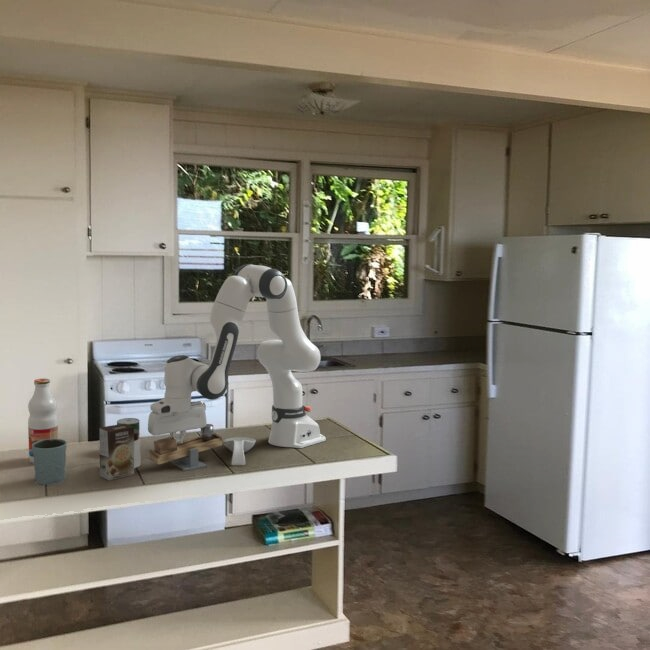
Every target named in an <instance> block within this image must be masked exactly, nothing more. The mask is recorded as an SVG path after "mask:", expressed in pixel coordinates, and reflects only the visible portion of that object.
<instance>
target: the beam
mask: <svg viewBox="0 0 650 650" xmlns="http://www.w3.org/2000/svg"><path fill="white" fill-rule="evenodd" d="M222 439H223V437H222V435H220V434H218V433H216V432H214V439H213V440H210V441H207V442H203V441H202V438H201V436H197V437H194V438H191V439H188V440H183V443H182V444H177V450H176V451H173V452H170V453H166V454H163V455H159V454H158V453H156V452H155V449H154V450H152V449H151V448H150V449H148V455H149V456H148V457H149V460H151V461H152V462H153V463H155V464H157V465H162V464H165V463H168V462H170V461H171V460H175V459H178V458H181V457H185V456H188V455H189V450H190V449H195V448H197V449H198V453H201V452H204V451H208V450H210V449H214V448H217V447H221V446H223V440H222Z"/></svg>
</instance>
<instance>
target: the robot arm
mask: <svg viewBox="0 0 650 650" xmlns="http://www.w3.org/2000/svg"><path fill="white" fill-rule="evenodd" d="M253 297H256V298H264V299H265V300H266V309H267V315H268V316H267V317H268V323H269V328H270V331H271V332H272V333H273V334H275V335H276V336H277V337H278V338H279V339H276V338H275V339H268V340H267V339H266V340H264V341H262V342H261V343H260V344H259V346H258V349H257V359H258V362H259V363H260V364H261V365H262V366H263V367H264V369H265V370H266V372H267V373H268V374H269V375H268V376H269V378H270V381H271V385H272V398H273V399H272V400H273V401H272V406H271V421H272V422H271V428H270V434H269V437H268V440H267V442H268V443H269V444H270V445H272V446H275V447H282V448H295V449H303V448H306V447H308V446H309V447H310V446H311V445H312V446H313V445H316V444H319V443H323V442H326V436H325V435H323V434H321V431H320V430H321V429H320V425H319V423H317V422H316V421H315V420H313V418H311V417H310V416H309V415H308V414H307V413H311V411H312V407H311V406H308V405H306V406H305V405H303V386H302V384H301V382H300V381H299V380H298V379H296V377H295V376H294V375H293V373H292V371H293V372H299V373H305V372H308V373H309V372H314V371H316V369H317V368H318V367H319V366H320V363H321V359H322V358H321V357H322V356H321V351H320V350H319V348H318V346H316V345H315V344H314V343H313V342H312V341H310V339H309V338H308V337H307V335H306V334H305V332H304V330H303V327H302V324H301V322H300V321H301V320H300V317H299V309H298V303H297V297H296V293H295V289H294V286H293V283H292V281H291V280H290V279H289V278H287V277H286V276H285V274H284V273H282V272H281V271H280V270H278V269H277V268H271V267H269V266H267V265H266V266H265V265H259V264H257V265H256V264H252V263H248V264H247V263H246V264H242V265H241V266H239V267H238V268H237V269H236V271H234V274H233V275H230V276H228V277H227V278H226V279H225V280H224V282H223V284H221V286H220V289H219V291H218V292H217V294H216V298H214V302H213V305H212V307H211V312H210V316H209V321H210V324H211V326H212V329H214V332H215V335H216V343H215V346H214V347H215V348H214V351H213V354H212V357H211V361H210V364H207V363H204V362H203V363H202V362H200V361H196V360H194V359H193V358H190V357H189V356H188V355H186V354H185V355H184V354H183V355H175V356H172V357H170V358H169V359H167V361H166V363H165V366H164V379H163V381H164V387H165V391H164V395H163V396H164V397H163V398H162V399H161V398H160V400H158V401H155V402H154V403H152V404H150V407H149V408H150V413H149V415H148V421H147V431H148V433H149V434H150V435H151V436H160V435H165V434H166V435H167V434H169V435H170V437H172V438H173V439H175V440H176V443H177V444H182V443H183V441H184V438H185V436H186V434H187V431H190V430H198V429H201V428H204V427H205V426H206V424H208V423H207V422H208V421H207V415H206V410H207V409H206V408H207V405H206V403H205V402H204V401H202V400H197V401H192V393H193V392H197V393H198V394H200V395H201V396H202V397H203V398H204V399H206V400H216V399H219V398H221V397H222V396H224V394H225V393H226V392H227V390H228V388H229V387H228V386H229V370H230V367H231V363H232V359H233V356H234V354H235V353H234V352H235V350H236V346H237V343H238V337H239V333H240V328H241V326H242V321H243V319H244V317H245V313H246V312H247V308H248V305H249V302H250V300H251V299H252V298H253ZM306 412H307V413H306ZM177 433H180V434H179V436H178V437H176V436H177Z"/></svg>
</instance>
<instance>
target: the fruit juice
mask: <svg viewBox="0 0 650 650" xmlns="http://www.w3.org/2000/svg"><path fill="white" fill-rule="evenodd" d="M33 381H34V382H33V383H34V384H33V385H34V386H35V387H34V392H33V395H32V397H31V398H30V399H29V402H28V404H27V408H28V412H29V417H28V418H27V419H28V421H27V422H28V423H27V429H28V431H27V432H28V433H27V434H28V459H29V462H30V463H32V464H34V457H33V450H32V444H33V443H35V442H37V441H40V440H44V439H59V421H58V415H57V412H56V411H57V409H58V402H57V400H56V399H55V397H54V396H53V395H52V392H51V389H50V385H51V384H50V383H51V380H50V379H49V378H36V379H34V380H33Z"/></svg>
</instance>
